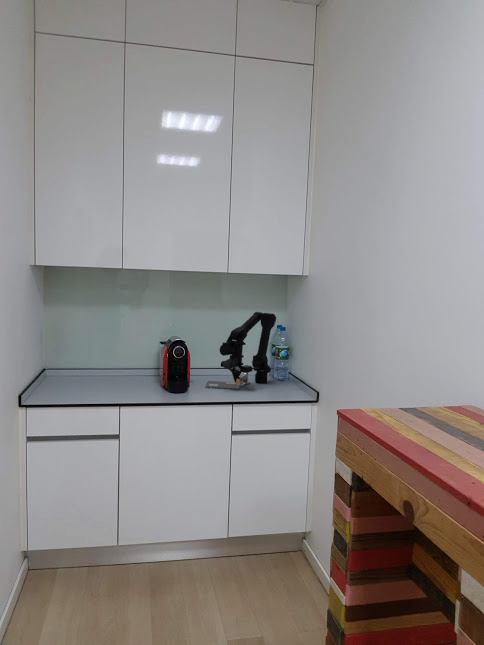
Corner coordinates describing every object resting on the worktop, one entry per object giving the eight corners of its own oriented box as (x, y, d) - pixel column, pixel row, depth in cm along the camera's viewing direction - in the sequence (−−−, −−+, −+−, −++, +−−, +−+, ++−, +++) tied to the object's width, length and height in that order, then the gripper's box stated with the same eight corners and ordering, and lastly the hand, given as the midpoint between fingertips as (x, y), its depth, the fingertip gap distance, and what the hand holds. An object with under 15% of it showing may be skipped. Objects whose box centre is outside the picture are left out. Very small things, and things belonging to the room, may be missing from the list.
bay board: (240, 383, 278) (240, 381, 278) (239, 389, 265) (239, 387, 264) (207, 381, 279) (207, 380, 279) (205, 387, 265) (205, 386, 265)
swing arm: (243, 381, 281) (244, 370, 280) (248, 381, 280) (248, 370, 279) (235, 388, 263) (236, 377, 262) (240, 389, 262) (240, 377, 261)
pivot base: (249, 382, 282) (250, 381, 282) (249, 384, 277) (249, 383, 277) (241, 382, 282) (241, 381, 282) (240, 384, 277) (240, 383, 277)
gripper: (213, 352, 267) (212, 380, 269) (239, 358, 255) (238, 388, 257) (228, 350, 275) (227, 377, 277) (253, 355, 263) (252, 384, 265)
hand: (235, 381), depth 269 cm, fingers closed
